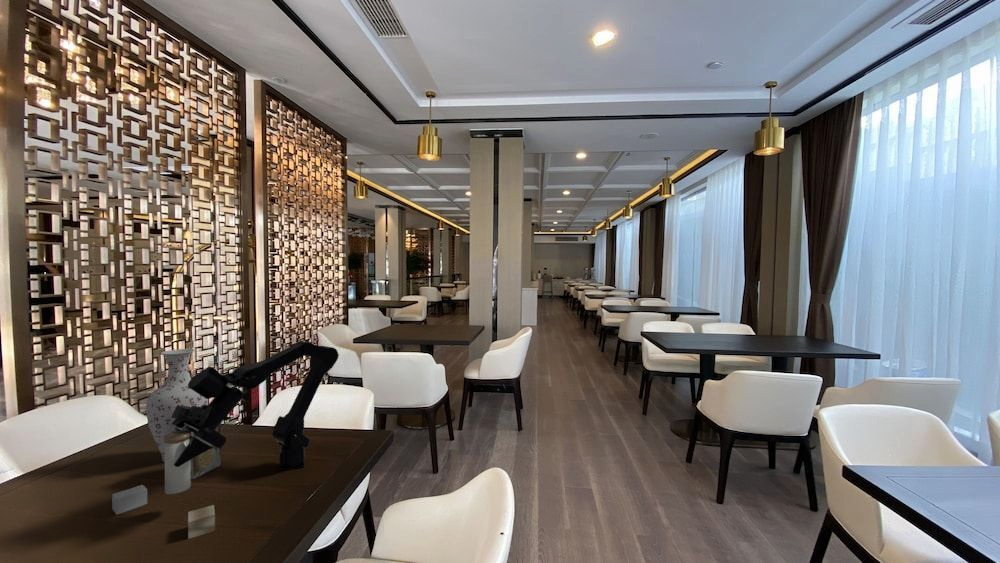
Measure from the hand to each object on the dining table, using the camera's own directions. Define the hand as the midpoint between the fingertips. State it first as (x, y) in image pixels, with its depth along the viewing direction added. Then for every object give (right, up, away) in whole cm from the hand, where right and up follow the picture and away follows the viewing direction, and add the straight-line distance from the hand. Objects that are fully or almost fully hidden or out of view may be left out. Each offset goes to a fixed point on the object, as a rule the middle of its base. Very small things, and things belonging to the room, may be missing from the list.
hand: (171, 463), depth 102 cm
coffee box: (-10, -13, +22) cm, 27 cm away
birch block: (+12, -13, -6) cm, 19 cm away
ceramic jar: (+1, -7, +1) cm, 7 cm away
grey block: (-14, -13, +3) cm, 19 cm away
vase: (-24, -12, +32) cm, 42 cm away
